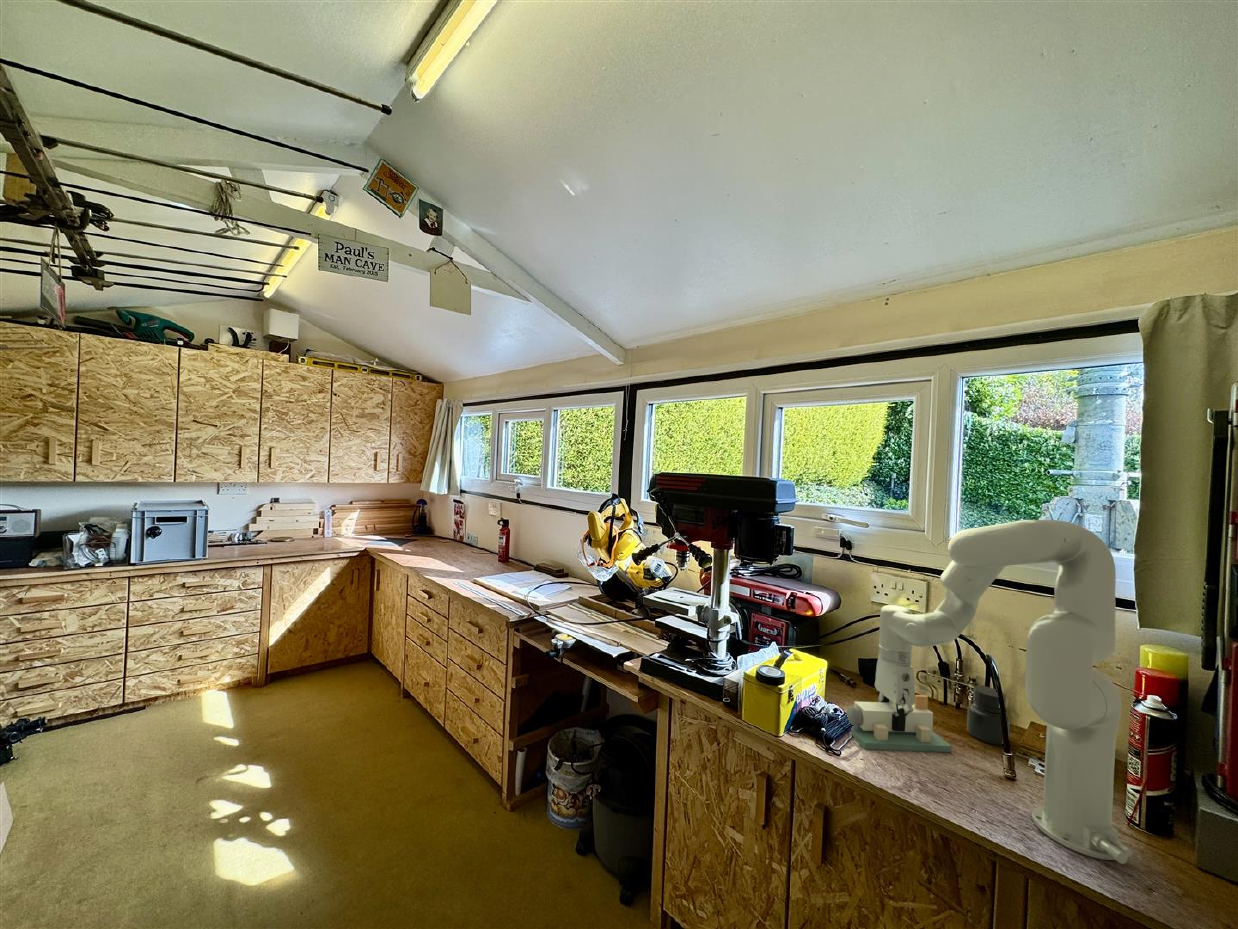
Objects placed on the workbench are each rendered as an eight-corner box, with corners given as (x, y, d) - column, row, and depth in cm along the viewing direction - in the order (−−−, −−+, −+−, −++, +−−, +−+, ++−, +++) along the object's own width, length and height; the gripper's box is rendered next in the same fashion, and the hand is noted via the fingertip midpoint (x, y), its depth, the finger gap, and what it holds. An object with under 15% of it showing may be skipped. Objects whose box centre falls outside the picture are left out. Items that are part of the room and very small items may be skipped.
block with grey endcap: (932, 732, 123) (933, 700, 123) (856, 730, 122) (857, 697, 122) (919, 722, 128) (920, 691, 128) (845, 720, 127) (847, 689, 127)
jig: (951, 752, 119) (952, 733, 119) (864, 749, 118) (865, 730, 118) (914, 722, 133) (914, 706, 133) (836, 719, 132) (836, 703, 132)
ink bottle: (1019, 745, 124) (1021, 698, 125) (995, 749, 121) (998, 701, 122) (979, 725, 133) (981, 682, 134) (957, 729, 131) (959, 685, 131)
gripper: (931, 668, 117) (927, 744, 117) (889, 643, 134) (885, 709, 134) (901, 667, 117) (897, 742, 117) (862, 642, 134) (859, 708, 134)
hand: (891, 724), depth 125 cm, fingers closed on block with grey endcap, 4 cm apart
